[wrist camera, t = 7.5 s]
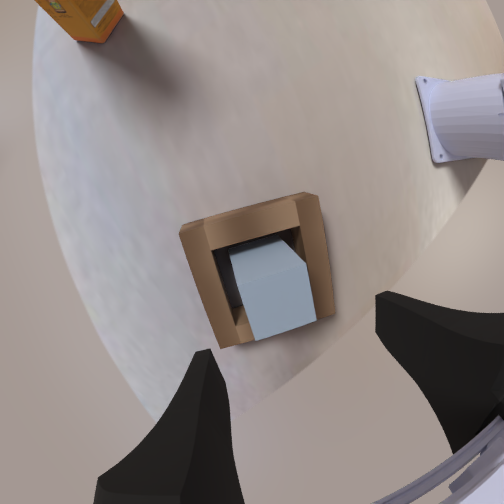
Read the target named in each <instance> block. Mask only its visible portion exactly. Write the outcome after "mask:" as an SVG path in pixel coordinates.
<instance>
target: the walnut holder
mask: <svg viewBox="0 0 504 504" xmlns="http://www.w3.org/2000/svg"><path fill="white" fill-rule="evenodd" d="M289 228H291V233H292V238H293V243H294V248H295V253H296V254H297V255H298V256H299V257H300V258H301V259H302V260H303V261H304V262H305V263H306V266H307V271H308V276H309V281H310V287H311V292H312V297H313V303H314V308H315V314H316V320H318V319H321V318H324V317H327V316H329V315H332V314H335V306H334V297H333V289H332V280H331V273H330V265H329V258H328V251H327V245H326V238H325V232H324V226H323V220H322V214H321V209H320V203H319V198H318V196H317V195H313V194H310V193H306V192H302V193H298V194H294V195H290V196H286V197H282V198H278V199H274V200H270V201H266V202H262V203H258V204H255V205H251V206H247V207H243V208H240V209H236V210H232V211H229V212H225V213H221V214H218V215H214V216H211V217H207V218H204V219H201V220H197V221H194V222H190V223H187V224H184V225H182V227H181V230H180V232H179V236H180V239H181V242H182V245H183V248H184V251H185V254H186V257H187V260H188V263H189V266H190V269H191V272H192V275H193V278H194V281H195V283H196V286H197V289H198V292H199V294H200V297H201V300H202V303H203V305H204V308H205V311H206V313H207V316H208V319H209V321H210V324H211V326H212V329H213V331H214V334H215V336H216V339H217V341H218V344H219V346H220V349H222V348H226V347H230V346H234V345H238V344H241V343H245V342H248V341H252V340H255V338H254V335H253V332H252V329H251V326H250V323H249V320H248V317H247V314H246V311H245V308H244V305H243V306H239V307H236V308H232V307H231V304H230V301H229V298H228V295H227V291H226V288H225V285H224V282H223V279H222V276H221V272H220V269H219V266H218V263H217V260H216V256H215V253H214V249H218V248H221V247H225V246H228V245H232V244H235V243H239V242H242V241H246V240H250V239H253V238H257V237H260V236H264V235H267V234H271V233H275V232H278V231H282V230H286V229H289Z"/></svg>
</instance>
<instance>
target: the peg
mask: <svg viewBox="0 0 504 504" xmlns="http://www.w3.org/2000/svg"><path fill="white" fill-rule="evenodd" d="M228 250H229V254H230V259H231V263H232V267H233V271H234V275H235V279H236V283H237V286H238V289H239V292H240V295H241V299H242V302H243V305H244V308H245V311H246V314H247V317H248V320H249V323H250V326H251V329H252V332H253V335H254V338H255V341H257V340H261V339H264V338H267V337H270V336H273V335H276V334H279V333H282V332H285V331H288V330H291V329H294V328H297V327H300V326H303V325H306V324H308V323H311V322H314V321H317V320H316V314H315V308H314V303H313V297H312V292H311V287H310V281H309V276H308V271H307V266H306V263H305V262H304V261H303V260H302V259H301V258H300V257H299V256H298V255H297V254H296V253H295V252H294V251H293V250H292V249H291V248H290V247H289V246H288V245H287V244H286V243H285V242H284V241H283V240H282V239H281V238H280V237H279V236H278V235H277V234H276V235H273V236H270V237H266V238H263V239H260V240H256V241H253V242H250V243H246V244H243V245H240V246H237V247H233V248H230V249H228Z"/></svg>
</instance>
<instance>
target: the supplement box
mask: <svg viewBox="0 0 504 504" xmlns="http://www.w3.org/2000/svg"><path fill="white" fill-rule="evenodd" d="M35 1H36V2H37V3H38V4H39V5H40V6H41V7H42V8H43V9H44V10H45V11H46V12H47V13H48V14H49V15H50V16H51V17H52V18H53V19H54V20H55V21H56V22H57V23H58V24H59V25H60V26H61V27H62V28H63V29H64V30H65V31H66V32H67V33H68V34H69V35H70V36H71V37H72V38H73V39H74V40H79V41H88V42H97V43H104V42H105V41H106V39H107V38H108V36H109V35H110V34H111V32H112V31H113V29H114V27H115V26H116V25H117V23H118V22H119V20H120V19H121V17H122V16H123V14H124V12H123V11H122V9H121V7H120V5H119V3H118V1H117V0H35Z"/></svg>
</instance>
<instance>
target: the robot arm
mask: <svg viewBox="0 0 504 504" xmlns="http://www.w3.org/2000/svg"><path fill="white" fill-rule="evenodd" d="M415 80H416V84H417V88H418V91H419V95H420V99H421V103H422V107H423V111H424V116H425V120H426V125H427V130H428V136H429V141H430V147H431V154H432V159H433V161H434V162H435V163H441V162H448V161H455V160H462V159H469V158H477V157H478V158H487V159H495V160H503V161H504V73H499V74H491V75H484V76H477V77H471V78H465V79H459V80H454V81H448V80H442V79H436V78H430V77H423V76H418V77H416V79H415ZM375 299H376V329H375V330H376V331H375V332H376V334H377V335H378V337H379V338H380V340H381V342H382V343H383V345H384V346H385V347H386V349H387V350H388V351H389V352H390V353H391V355H392V356H393V357H394V358H395V359H396V360H397V361H398V363H399V364H400V365H401V366H402V367H403V368H404V369H405V370H406V371H407V373H408V374H409V375H410V376H411V377H412V378H413V380H414V381H415V382H416V383H417V385H418V386H419V388H420V389H421V391H422V392H423V394H424V395H425V397H426V398H427V400H428V402H429V403H430V405H431V407H432V408H433V410H434V412H435V414H436V415H437V418H438V420H439V422H440V424H441V426H442V428H443V430H444V432H445V434H446V437H447V439H448V442H449V444H450V447H451V450H452V453H453V454H454V455H452V456H451V457H450V458H448V459H447V460H445V461H444V462H443V463H441V464H440V465H439V466H437V467H435V468H434V469H432V470H431V471H430V472H428V473H426V474H425V475H423V476H422V477H420V478H418V479H417V480H415V481H413V482H412V483H410V484H408V485H407V486H405V487H403V488H401V489H399V490H398V491H396V492H394V493H392V494H390V495H388V496H386V497H384V498H382V499H380V500H378V501H376V502H374V503H371V504H409V503H411V502H413V501H414V500H416V499H418V498H419V497H421V496H422V495H424V494H426V493H427V492H429V491H431V490H432V489H434V488H435V487H436V486H438V485H440V484H441V483H442V482H444V481H445V480H446V479H448V478H449V477H451V476H452V475H453V474H455V473H456V472H457V471H459V470H460V469H461V468H462V467H464V466H465V465H466V464H467V463H468V462H470V461H471V460H472V459H473V458H474V457H475V456H477V455H478V454H479V453H480V452H481V453H480V457H478V458H477V460H475V461H474V462H473V463H472V464H471V465H470V466H469V467H468V468H467V469H466V470H465V471H464V472H463V473H462V474H461V475H460V476H459V477H458V478H457V479H456V480H455V481H453V482H452V483H451V484H450V485H449V489H450V490H451V492H452V495H450V496H449V497H448V498H446V499H445V500H444V501H442V502H441V503H439V504H504V313H476V312H467V311H461V310H455V309H450V308H446V307H442V306H438V305H434V304H431V303H427V302H424V301H420V300H417V299H414V298H411V297H408V296H404V295H401V294H398V293H394V292H390V291H385V292H382V293H380V294H377V295H375ZM93 504H245V503H244V499H243V495H242V492H241V488H240V483H239V479H238V475H237V471H236V466H235V461H234V456H233V448H232V436H231V421H230V406H229V399H228V393H227V388H226V383H225V380H224V378H223V376H222V374H221V372H220V369H219V367H218V365H217V363H216V361H215V358H214V356H213V354H212V351H211V349H206V350H202V351H197V352H195V354H194V356H193V358H192V361H191V363H190V365H189V367H188V370H187V372H186V374H185V376H184V378H183V380H182V382H181V384H180V386H179V388H178V390H177V392H176V394H175V395H174V397H173V399H172V401H171V402H170V404H169V406H168V407H167V409H166V411H165V412H164V414H163V415H162V417H161V418H160V419H159V421H158V422H157V424H156V425H155V426H154V428H153V429H152V430H151V431H150V432H149V433H148V435H147V436H146V437H145V438H144V439H143V440H142V442H140V444H139V445H138V446H137V447H136V448H135V449H134V450H133V451H131V452H130V453H129V454H128V455H127V456H126V457H125V458H124V459H122V460H121V461H120V462H119V463H118V464H116V465H115V466H114V467H112V468H111V469H109V470H108V471H107V472H105V473H104V474H102V475H101V476H99V477H98V480H97V486H96V491H95V497H94V503H93Z"/></svg>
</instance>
